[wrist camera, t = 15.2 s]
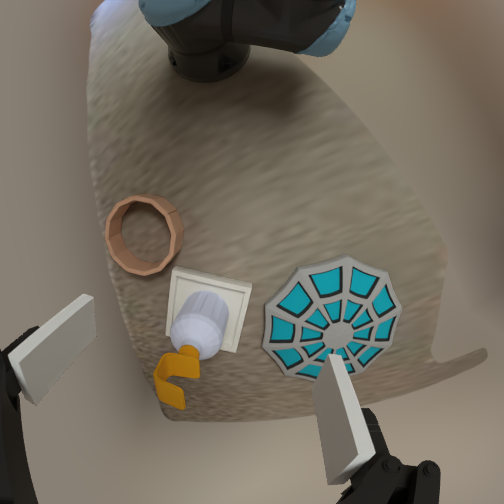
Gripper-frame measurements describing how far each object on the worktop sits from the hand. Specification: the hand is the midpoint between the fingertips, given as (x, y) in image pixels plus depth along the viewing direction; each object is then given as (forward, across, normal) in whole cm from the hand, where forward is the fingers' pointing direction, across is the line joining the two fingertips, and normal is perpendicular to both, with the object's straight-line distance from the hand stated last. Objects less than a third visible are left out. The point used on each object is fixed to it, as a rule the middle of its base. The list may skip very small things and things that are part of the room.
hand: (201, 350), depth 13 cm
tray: (+37, -4, -18) cm, 41 cm away
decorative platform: (+37, +22, -16) cm, 46 cm away
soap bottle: (+36, -4, -18) cm, 40 cm away
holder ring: (+37, -18, -5) cm, 41 cm away
